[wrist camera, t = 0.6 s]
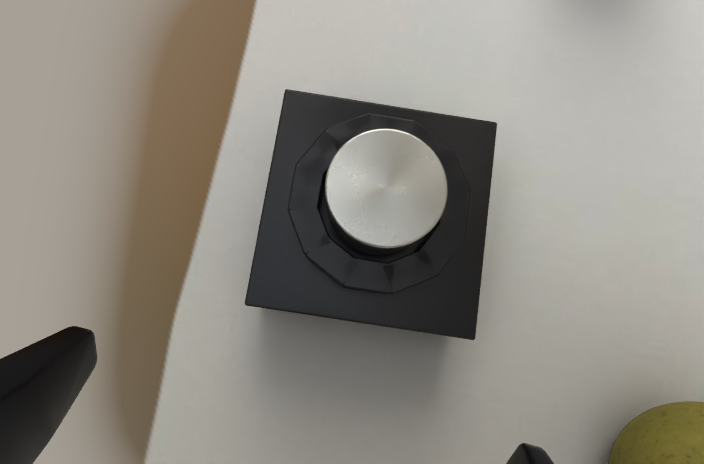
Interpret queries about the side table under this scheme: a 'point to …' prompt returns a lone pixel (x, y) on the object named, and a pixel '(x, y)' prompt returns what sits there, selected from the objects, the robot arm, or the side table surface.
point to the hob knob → (384, 191)
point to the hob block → (358, 267)
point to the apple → (663, 436)
